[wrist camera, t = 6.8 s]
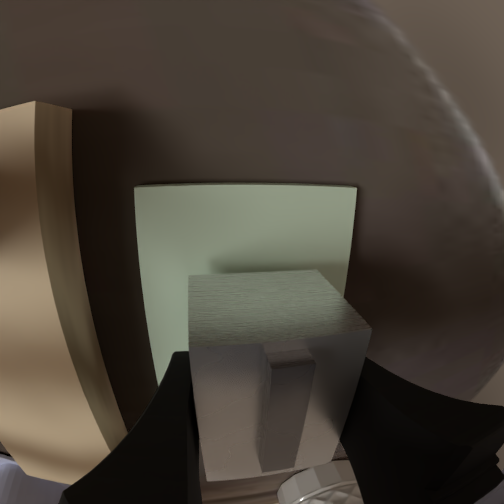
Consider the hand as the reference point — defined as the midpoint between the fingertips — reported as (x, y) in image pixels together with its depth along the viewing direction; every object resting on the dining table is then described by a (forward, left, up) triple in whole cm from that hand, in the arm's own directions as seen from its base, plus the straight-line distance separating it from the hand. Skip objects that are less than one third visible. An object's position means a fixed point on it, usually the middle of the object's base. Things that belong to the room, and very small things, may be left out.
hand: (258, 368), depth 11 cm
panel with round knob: (0, +10, -3) cm, 10 cm away
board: (0, 0, -3) cm, 3 cm away
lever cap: (0, 0, -1) cm, 1 cm away
